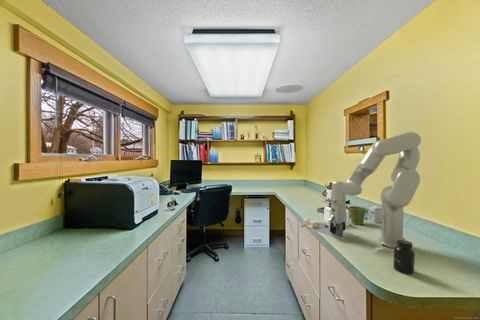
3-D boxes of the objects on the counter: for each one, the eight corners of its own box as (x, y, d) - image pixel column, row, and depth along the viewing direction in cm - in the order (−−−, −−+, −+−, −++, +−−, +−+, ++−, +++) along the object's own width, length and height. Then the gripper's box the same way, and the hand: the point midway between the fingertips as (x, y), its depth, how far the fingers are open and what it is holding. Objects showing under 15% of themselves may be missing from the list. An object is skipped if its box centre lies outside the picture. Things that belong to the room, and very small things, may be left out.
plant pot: (362, 221, 153) (362, 206, 153) (369, 226, 141) (370, 210, 141) (345, 220, 155) (345, 205, 155) (351, 225, 143) (351, 209, 143)
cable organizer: (350, 228, 138) (350, 210, 138) (336, 228, 136) (336, 211, 136) (336, 221, 152) (336, 205, 152) (323, 221, 151) (323, 205, 150)
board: (353, 236, 123) (353, 228, 123) (339, 241, 116) (339, 232, 116) (314, 223, 146) (314, 216, 146) (301, 227, 138) (301, 220, 138)
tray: (362, 213, 174) (363, 210, 174) (344, 218, 159) (344, 214, 159) (336, 207, 194) (336, 204, 194) (317, 211, 179) (317, 208, 179)
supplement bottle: (391, 270, 86) (392, 241, 86) (394, 264, 91) (395, 237, 91) (413, 277, 81) (414, 246, 81) (415, 270, 86) (416, 241, 86)
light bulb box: (361, 218, 160) (362, 204, 160) (368, 218, 162) (369, 204, 162) (374, 223, 150) (375, 208, 149) (381, 222, 152) (382, 207, 151)
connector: (342, 235, 121) (343, 222, 121) (338, 236, 119) (339, 223, 119) (336, 233, 124) (336, 220, 124) (332, 234, 122) (332, 221, 122)
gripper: (335, 205, 113) (335, 236, 114) (352, 202, 123) (351, 230, 123) (323, 202, 120) (322, 232, 120) (340, 199, 129) (339, 227, 129)
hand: (337, 231), depth 122 cm, fingers open, 9 cm apart
